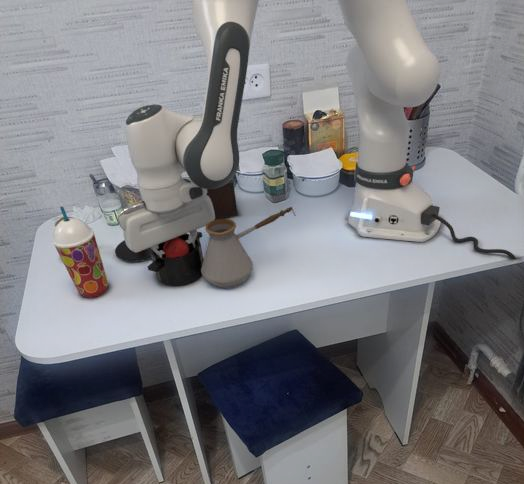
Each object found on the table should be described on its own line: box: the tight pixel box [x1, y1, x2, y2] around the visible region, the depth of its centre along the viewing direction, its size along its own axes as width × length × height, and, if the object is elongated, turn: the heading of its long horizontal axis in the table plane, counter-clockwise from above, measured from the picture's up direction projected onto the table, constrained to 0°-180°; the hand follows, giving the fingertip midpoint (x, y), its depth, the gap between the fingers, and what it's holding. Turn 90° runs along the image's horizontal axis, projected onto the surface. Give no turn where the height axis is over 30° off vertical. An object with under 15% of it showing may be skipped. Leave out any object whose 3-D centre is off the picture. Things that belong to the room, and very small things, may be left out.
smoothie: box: [51, 206, 109, 299], centre depth 99 cm, size 8×8×20 cm
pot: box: [147, 231, 204, 288], centre depth 106 cm, size 11×17×7 cm
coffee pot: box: [201, 206, 296, 289], centre depth 100 cm, size 21×12×15 cm, turn 96°
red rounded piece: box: [163, 237, 190, 258], centre depth 105 cm, size 6×6×8 cm
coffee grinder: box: [206, 179, 239, 220], centre depth 124 cm, size 16×11×18 cm
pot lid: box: [114, 239, 152, 262], centre depth 116 cm, size 12×12×5 cm
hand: (177, 253), depth 105 cm, fingers closed on red rounded piece, 6 cm apart
